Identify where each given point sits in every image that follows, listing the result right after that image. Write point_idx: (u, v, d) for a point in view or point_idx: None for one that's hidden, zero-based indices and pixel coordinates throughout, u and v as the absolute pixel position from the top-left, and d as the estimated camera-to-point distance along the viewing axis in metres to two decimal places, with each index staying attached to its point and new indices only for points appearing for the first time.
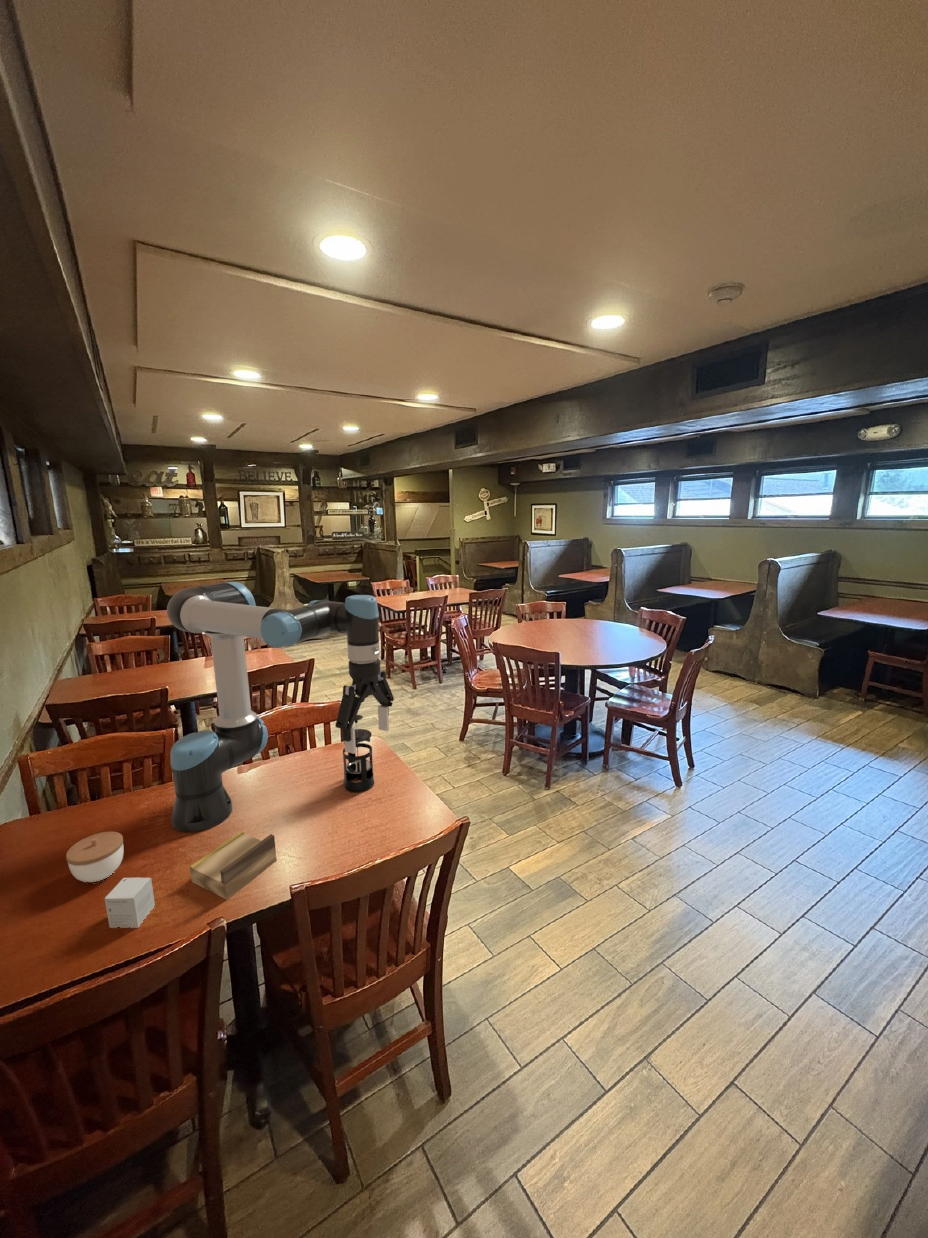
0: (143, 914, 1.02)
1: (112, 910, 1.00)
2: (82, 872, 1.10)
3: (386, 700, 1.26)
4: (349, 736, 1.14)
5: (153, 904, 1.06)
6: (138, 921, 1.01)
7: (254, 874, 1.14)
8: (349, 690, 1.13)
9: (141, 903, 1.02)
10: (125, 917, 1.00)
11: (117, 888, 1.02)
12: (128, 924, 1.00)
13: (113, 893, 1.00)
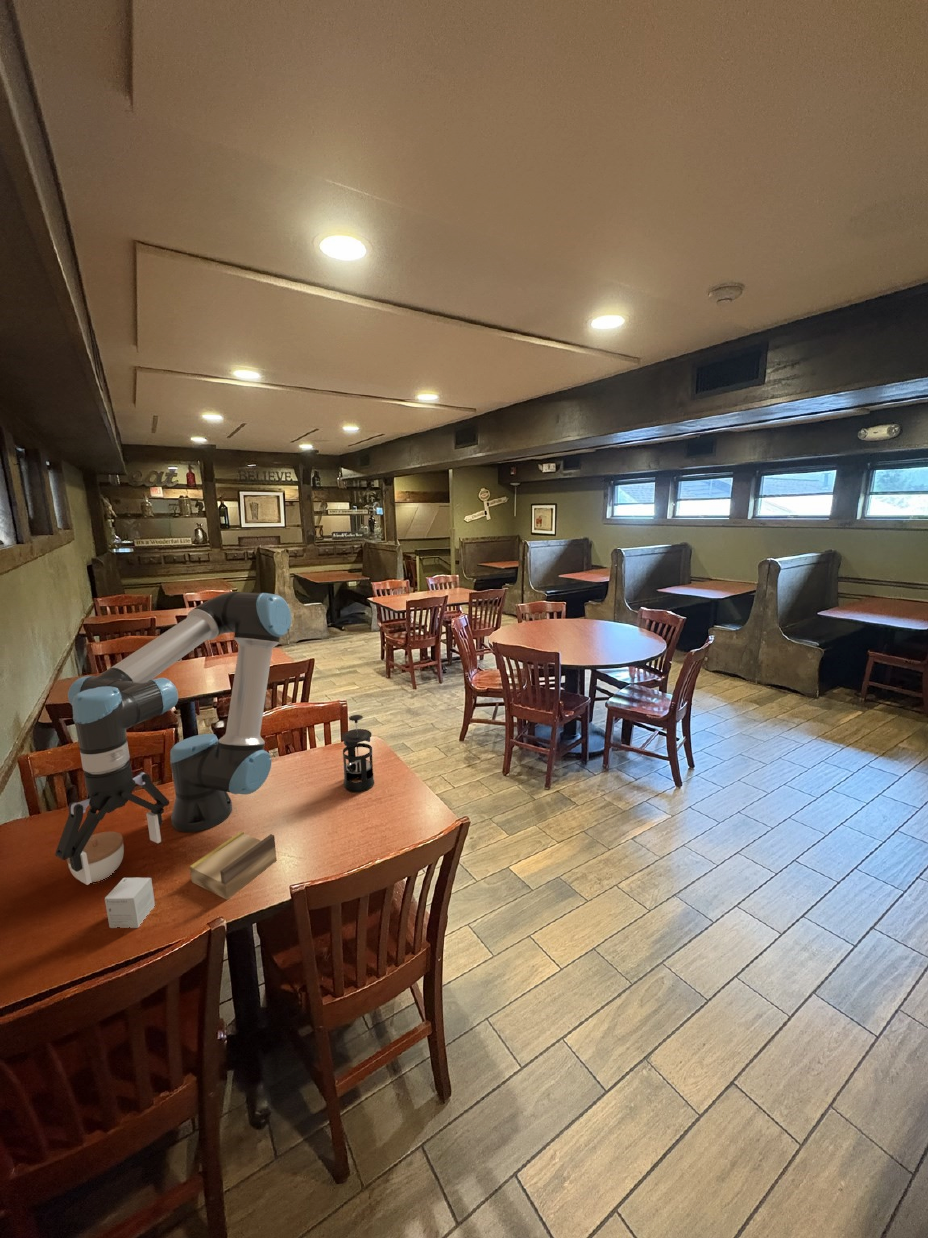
0: (143, 914, 1.02)
1: (112, 910, 1.00)
2: None
3: (153, 807, 1.04)
4: (78, 865, 0.92)
5: (153, 905, 1.06)
6: (138, 921, 1.01)
7: (254, 874, 1.14)
8: (74, 810, 0.91)
9: (141, 903, 1.02)
10: (125, 917, 1.00)
11: (117, 888, 1.02)
12: (128, 924, 1.00)
13: (113, 893, 1.00)
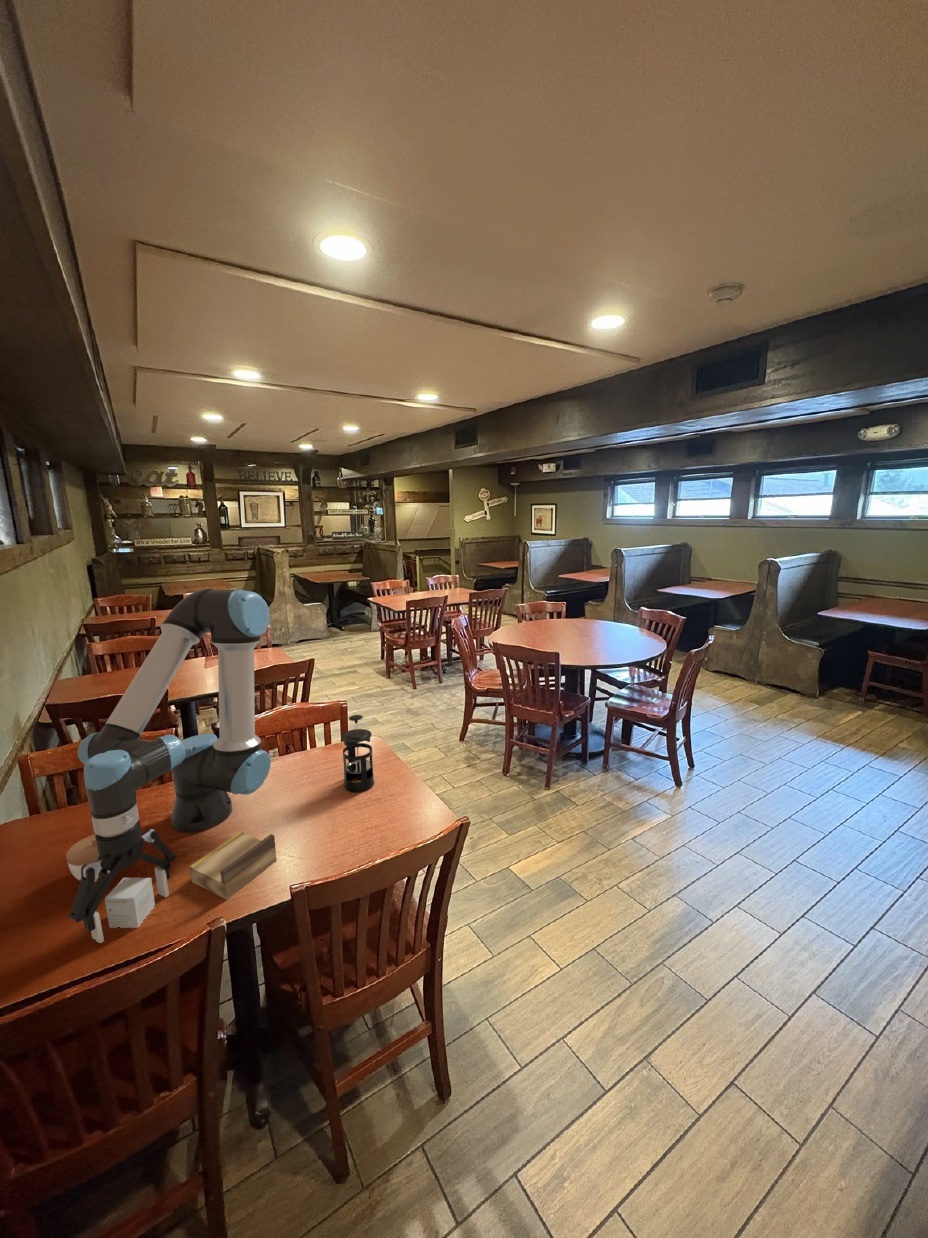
0: (143, 914, 1.02)
1: (112, 910, 1.00)
2: None
3: (162, 863, 1.07)
4: (91, 925, 0.95)
5: (153, 905, 1.06)
6: (138, 922, 1.01)
7: (254, 874, 1.14)
8: (86, 873, 0.94)
9: (141, 903, 1.02)
10: (125, 917, 1.00)
11: (117, 888, 1.02)
12: (128, 924, 1.00)
13: (113, 893, 1.00)
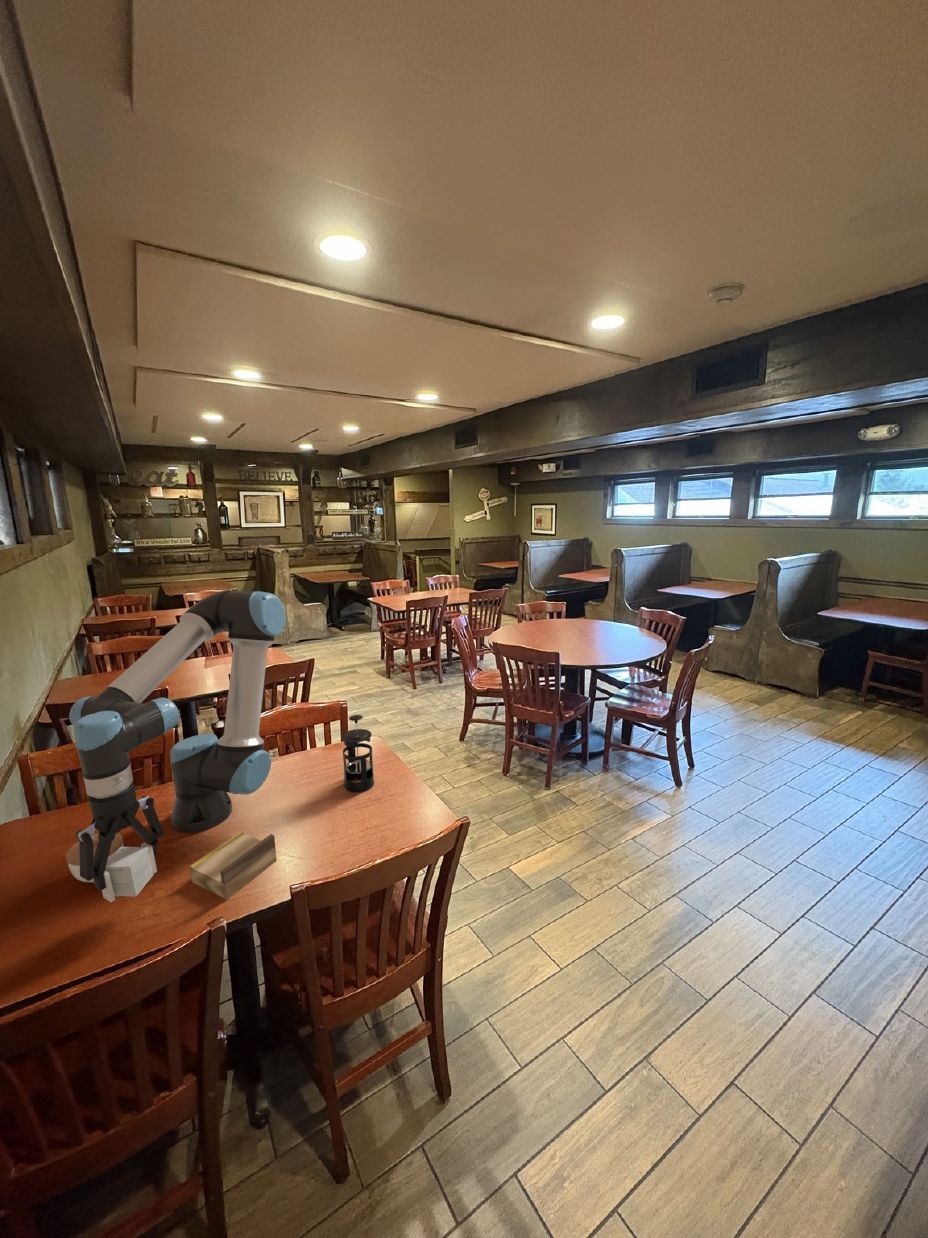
0: (141, 883, 1.01)
1: None
2: None
3: (150, 837, 1.04)
4: (102, 884, 0.97)
5: (152, 874, 1.05)
6: (136, 890, 1.00)
7: (254, 874, 1.14)
8: (82, 839, 0.92)
9: (139, 871, 1.01)
10: (122, 886, 0.99)
11: (114, 857, 1.01)
12: (126, 893, 1.00)
13: (109, 862, 0.99)
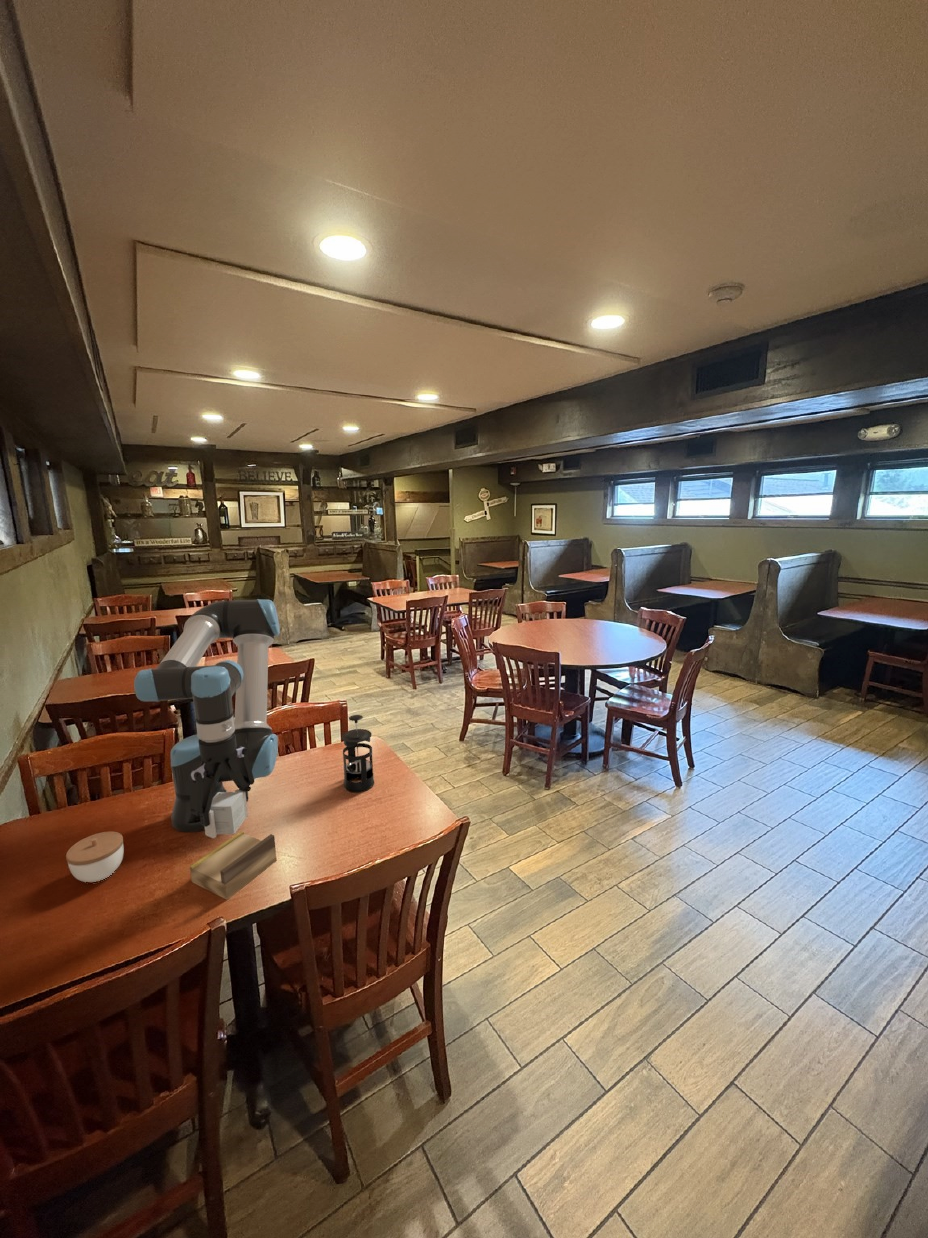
0: (237, 823, 1.13)
1: None
2: (82, 872, 1.10)
3: (244, 783, 1.16)
4: (207, 821, 1.09)
5: (244, 817, 1.17)
6: (234, 829, 1.12)
7: (254, 874, 1.14)
8: (194, 777, 1.05)
9: (236, 812, 1.13)
10: (223, 824, 1.11)
11: (214, 799, 1.13)
12: (225, 831, 1.11)
13: None
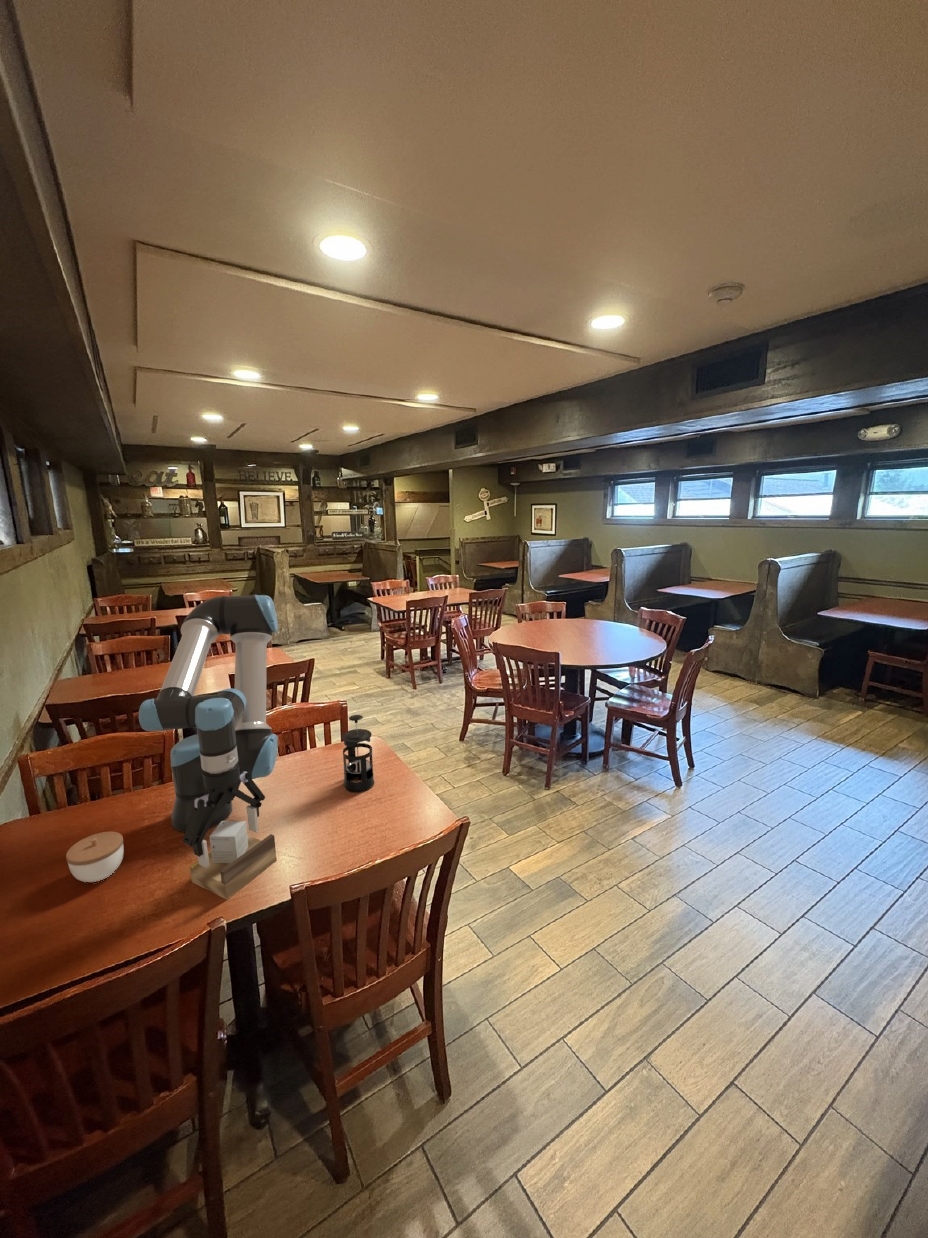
0: (240, 852, 1.15)
1: (215, 847, 1.12)
2: (82, 872, 1.10)
3: (253, 801, 1.19)
4: (200, 850, 1.08)
5: (247, 845, 1.18)
6: None
7: (254, 874, 1.14)
8: (198, 804, 1.06)
9: (240, 842, 1.14)
10: (226, 854, 1.13)
11: (218, 828, 1.14)
12: (229, 860, 1.13)
13: (215, 832, 1.13)
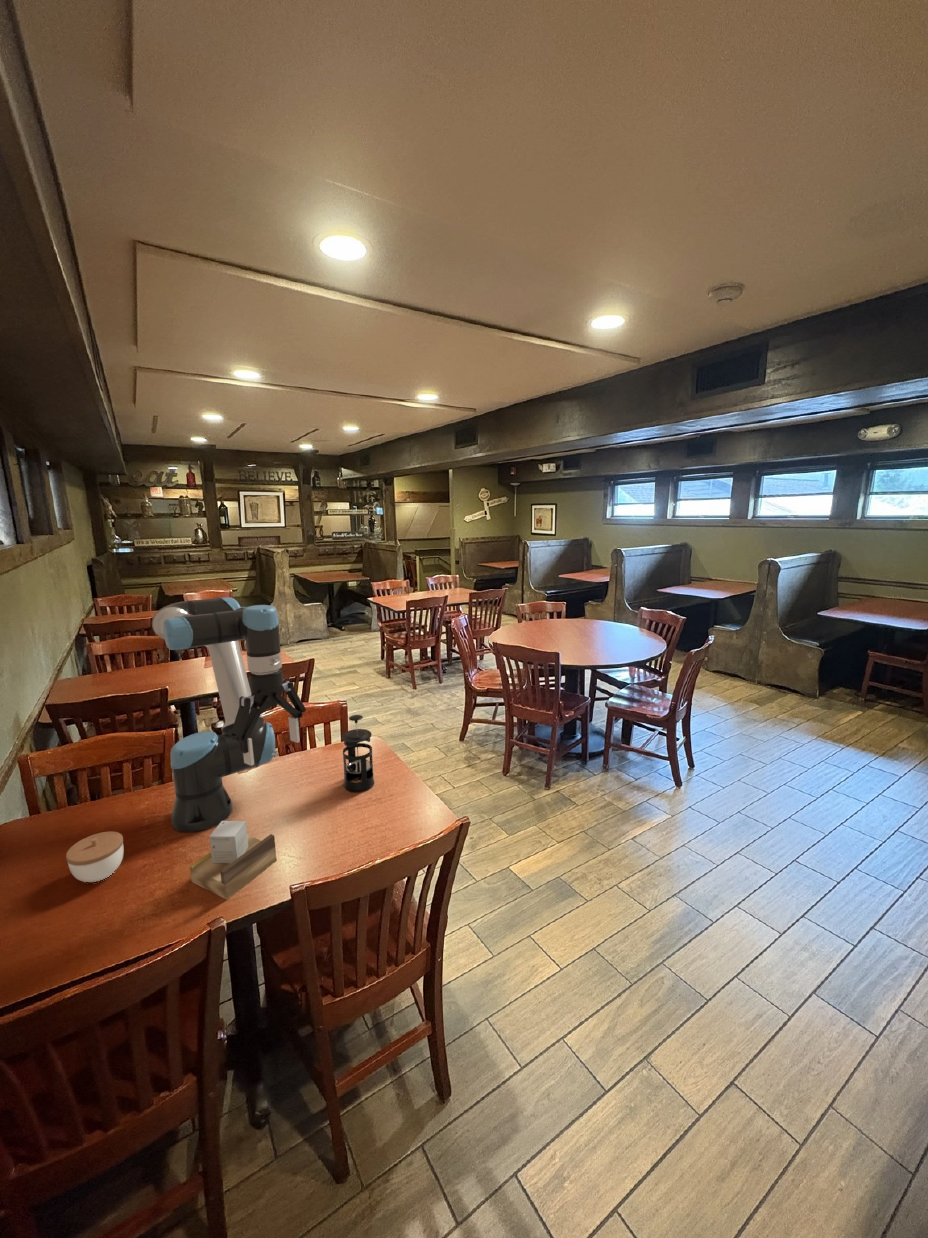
0: (240, 852, 1.15)
1: (215, 847, 1.12)
2: (82, 872, 1.10)
3: (295, 711, 1.24)
4: (246, 748, 1.13)
5: (247, 845, 1.18)
6: None
7: (254, 874, 1.14)
8: (244, 701, 1.11)
9: (240, 842, 1.14)
10: (226, 854, 1.13)
11: (218, 828, 1.14)
12: (229, 860, 1.13)
13: (215, 832, 1.13)
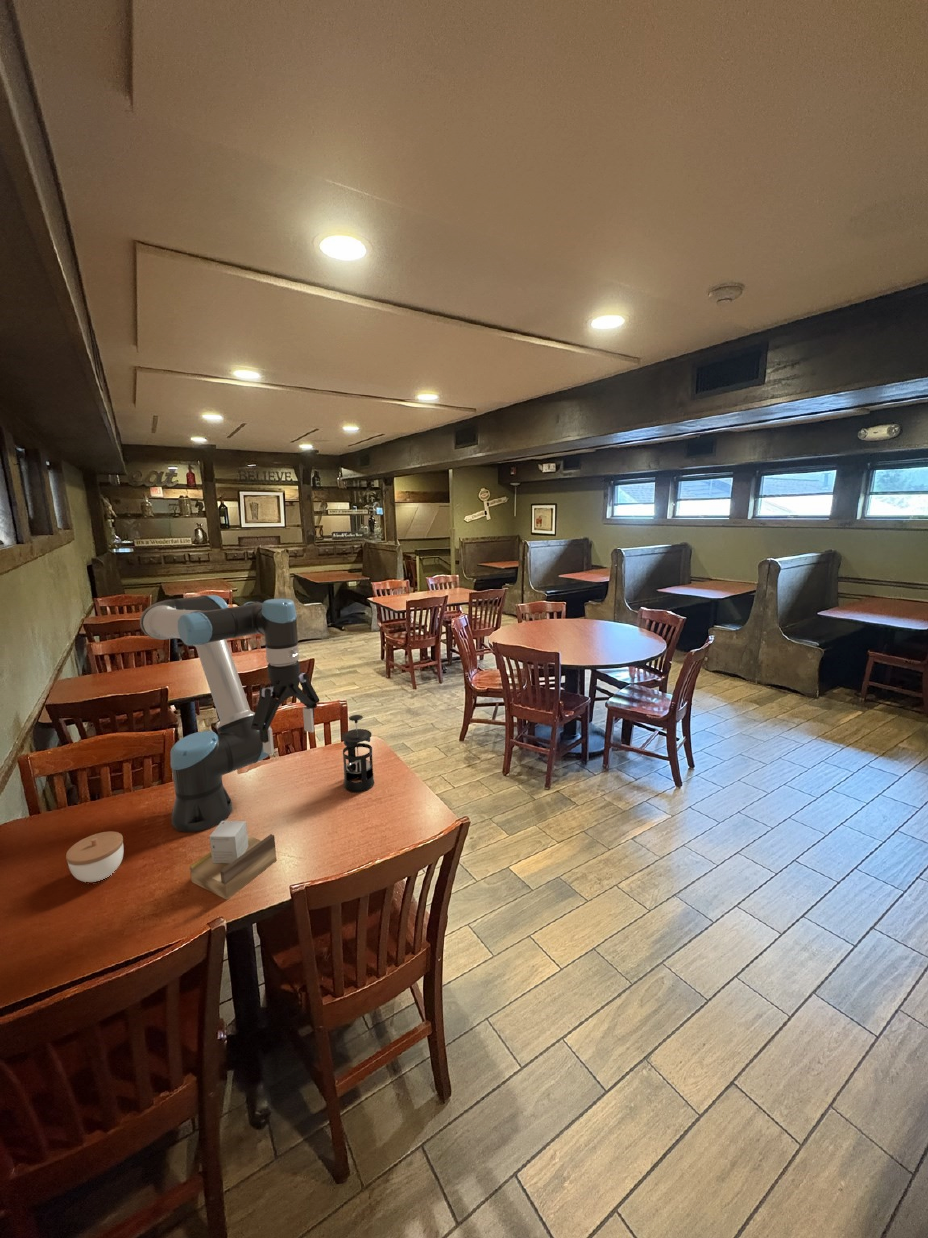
0: (240, 852, 1.15)
1: (215, 847, 1.12)
2: (82, 872, 1.10)
3: (310, 702, 1.28)
4: (266, 737, 1.16)
5: (247, 845, 1.18)
6: None
7: (254, 874, 1.14)
8: (265, 692, 1.15)
9: (240, 842, 1.14)
10: (226, 854, 1.13)
11: (218, 828, 1.14)
12: (229, 860, 1.13)
13: (215, 832, 1.13)
